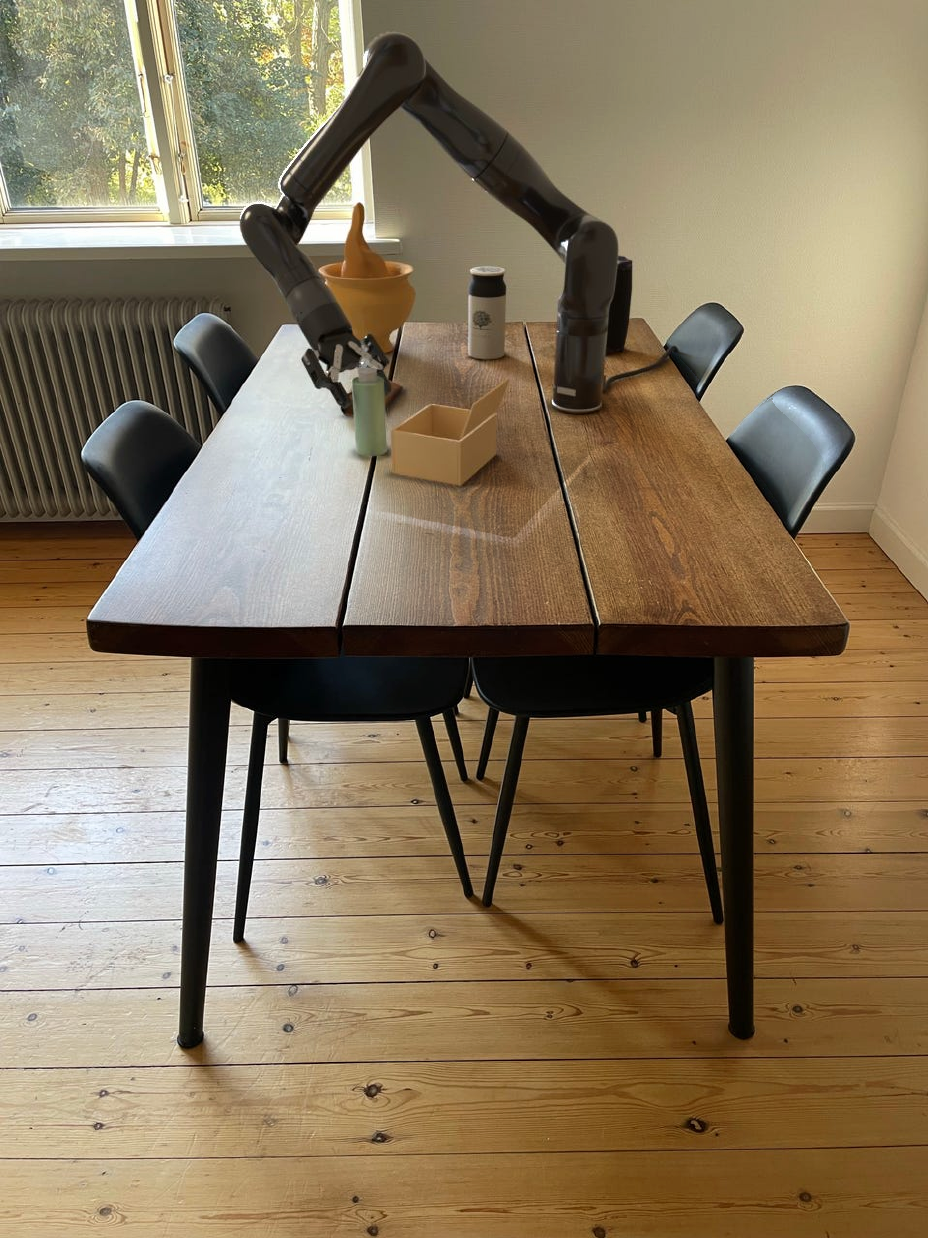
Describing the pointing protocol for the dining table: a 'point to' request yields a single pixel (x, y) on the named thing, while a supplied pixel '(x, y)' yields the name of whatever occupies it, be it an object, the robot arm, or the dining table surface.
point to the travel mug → (487, 313)
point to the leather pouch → (388, 399)
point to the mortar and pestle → (370, 287)
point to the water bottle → (369, 413)
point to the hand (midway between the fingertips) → (368, 399)
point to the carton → (442, 445)
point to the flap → (484, 407)
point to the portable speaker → (620, 307)
